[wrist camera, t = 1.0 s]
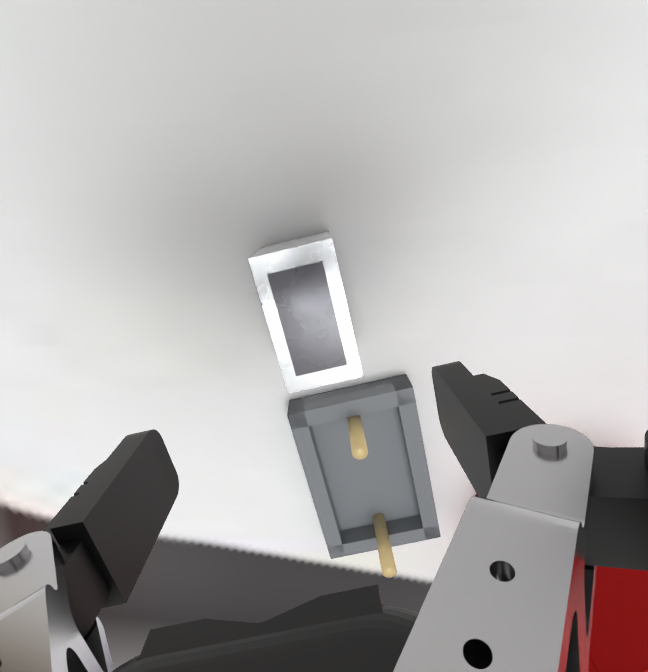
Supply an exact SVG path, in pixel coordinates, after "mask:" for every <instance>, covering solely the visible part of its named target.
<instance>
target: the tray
mask: <svg viewBox="0 0 648 672" xmlns="http://www.w3.org/2000/svg"><path fill="white" fill-rule="evenodd" d="M287 416H288V419H289V423H290V426H291V429H292V432H293V436H294V439H295V442H296V446H297V449H298V452H299V455H300V459H301V462H302V465H303V469H304V472H305V475H306V478H307V482H308V485H309V488H310V492H311V495H312V498H313V501H314V505H315V508H316V511H317V515H318V518H319V521H320V524H321V528H322V531H323V534H324V538H325V541H326V544H327V547H328V551H329V554H330V557H331V559H333V558H338V557H343V556H348V555H353V554H358V553H363V552H368V551H373V550H378V552H379V557H380V563H381V568H382V574H383V575H384V576H385V577H393V576H395V575H396V572H397V571H396V566H395V562H394V557H393V553H392V548H391V547H393V546H398V545H403V544H408V543H413V542H418V541H423V540H428V539H433V538H437V537H441V536H440V531H439V525H438V520H437V515H436V509H435V504H434V498H433V493H432V488H431V482H430V477H429V471H428V466H427V461H426V455H425V450H424V444H423V439H422V434H421V428H420V423H419V417H418V412H417V407H416V401H415V396H414V391H413V387H412V385H411V383H410V381H409V379H408V377H407V375H406V374H405V375H401V376H396V377H392V378H387V379H383V380H378V381H374V382H369V383H365V384H361V385H356V386H352V387H347V388H343V389H338V390H334V391H329V392H325V393H321V394H316V395H312V396H307V397H303V398H298V399H294V400H290V401H289V406H288V414H287Z"/></svg>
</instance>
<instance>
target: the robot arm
mask: <svg viewBox="0 0 648 672" xmlns="http://www.w3.org/2000/svg"><path fill="white" fill-rule="evenodd" d="M432 378H433V384H434V390H435V396H436V402H437V408H438V415H439V420H440V424H441V427H442V430H443V433H444V436H445V438H446V440H447V441H448V443H449V445H450V447H451V449H452V450H453V452H454V454H455V456H456V457H457V459H458V461H459V463H460V464H461V466H462V468H463V470H464V472H465V473H466V475H467V477H468V479H469V480H470V482H471V484H472V486H473V487H474V489H475V491H476V493H477V495H478V496H473V497H472V498H471V499H470V501H469V502H468V504H467V506H466V509H465V511H464V513H463V515H462V518H461V520H460V522H459V524H458V527H457V529H456V531H455V533H454V536H453V538H452V540H451V542H450V545H449V547H448V549H447V551H446V554H445V556H444V558H443V560H442V563H441V565H440V567H439V569H438V572H437V574H436V576H435V578H434V581H433V583H432V585H431V587H430V590H429V592H428V594H427V596H426V599H425V601H424V603H423V605H422V608H421V610H420V613H418V612H415V611H412V610H409V609H405V608H400V607H396V606H385V605H383V602H382V598H381V594H380V590H379V586H378V585H374V586H369V587H363V588H359V589H353V590H348V591H343V592H338V593H333V594H328V595H323V596H320V597H318V598H315V599H313V600H311V601H309V602H307V603H304V604H302V605H300V606H298V607H296V608H293V609H291V610H289V611H287V612H285V613H282V614H280V615H278V616H276V617H274V618H272V619H270V620H267V621H264V622H261V623H245V622H235V621H223V620H212V619H202V620H197V621H192V622H187V623H182V624H177V625H172V626H167V627H162V628H157V629H151V630H150V632H149V634H148V637H147V640H146V642H145V645H144V647H143V650H142V652H141V655H139V656H137V657H135V658H133V659H131V660H129V661H128V662H126V663H124V664H123V665H121V666H119V667H118V668H116V669H115V670H114V669H113V664H112V660H111V657H110V652H109V648H108V644H107V640H106V636H105V631H104V627H103V625H102V623H101V621H100V620H99V618H98V614H99V612H100V610H101V608H104V607H109V606H114V605H119V604H123V603H126V602H127V600H128V598H129V596H130V594H131V592H132V590H133V588H134V586H135V584H136V581H137V579H138V577H139V575H140V573H141V570H142V569H143V567H144V565H145V563H146V560H147V558H148V556H149V554H150V552H151V550H152V548H153V545H154V544H155V541H156V539H157V537H158V535H159V533H160V531H161V529H162V527H163V525H164V523H165V520H166V518H167V516H168V514H169V512H170V510H171V508H172V506H173V504H174V502H175V499H176V497H177V495H178V490H179V480H178V475H177V472H176V470H175V468H174V465H173V463H172V460H171V458H170V456H169V453H168V451H167V449H166V446H165V444H164V442H163V439H162V437H161V435H160V433H159V432H158V431H156V430H149V431H144V432H140V433H135V434H131V435H127V436H126V437H125V438H124V439H123V440H122V442H121V443H120V444H119V445H118V446H117V448H116V449H115V450H114V451H113V453H112V454H111V455H110V456H109V457H108V459H107V460H106V461H104V462H103V463H102V464H101V465H99V466H98V467H97V468H96V469H94V471H93V472H92V473H91V474H90V475H89V477H88V478H87V479H86V480H85V481H84V485H81V486H80V487H79V488H78V490H77V491H76V492H75V493H74V496H73V497H71V498H70V499H69V500H68V502H67V503H66V504H65V505H64V506H63V508H62V509H61V510H60V511H59V512H58V514H57V515H56V516H55V517H54V518H53V519H52V521H51V522H50V523H49V524H48V525H47V527H46V528H45V529H44V530H43V531H38V532H33V533H30V534H27V535H25V536H22V537H20V538H18V539H16V540H14V541H12V542H10V543H9V544H7V545H5V546H4V547H2V548H1V549H0V672H588V666H589V650H590V638H591V627H592V615H593V604H594V592H595V581H596V570H597V566H601V567H612V568H623V569H633V570H644V571H648V430H647V431H646V433H645V447H634V448H609V447H595V446H593V445H592V443H591V441H590V440H589V439H588V438H587V437H586V436H585V435H583V434H582V433H580V432H578V431H576V430H574V429H571V428H568V427H564V426H560V425H553V424H546V423H545V422H544V421H543V420H542V419H541V418H540V417H539V416H538V415H536V414H535V413H534V412H533V411H532V410H531V409H530V408H529V407H528V406H527V405H526V404H525V403H524V402H523V401H521V400H519V399H518V397H517V396H516V395H515V394H514V393H513V392H512V391H511V392H510V389H509V388H508V387H507V386H505V385H504V384H503V383H502V382H501V381H500V380H498V379H496V378H493V377H491V376H488V375H485V374H480V375H475V376H473V375H472V374H471V373H470V372H469V371H468V370H467V368H466V367H465V366H464V365H463V364H462V363H461V362H460V361H457V362H453V363H448V364H444V365H440V366H435V367H432Z"/></svg>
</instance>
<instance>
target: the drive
mask: <svg viewBox="0 0 648 672" xmlns="http://www.w3.org/2000/svg"><path fill="white" fill-rule="evenodd" d="M248 261H249V264H250V268H251V271H252V274H253V278H254V281H255V285H256V288H257V291H258V295H259V298H260V301H261V305H262V308H263V311H264V315H265V318H266V321H267V325H268V328H269V332H270V335H271V338H272V342H273V345H274V348H275V352H276V355H277V358H278V362H279V365H280V368H281V372H282V375H283V379H284V382H285V385H286V389H287V392H288V394H290V393H294V392H298V391H303V390H307V389H312V388H316V387H321V386H325V385H329V384H334V383H338V382H343V381H347V380H351V379H356V378H360V377H364V376H363V372H362V367H361V363H360V359H359V354H358V350H357V345H356V341H355V337H354V332H353V328H352V323H351V319H350V314H349V310H348V306H347V301H346V297H345V292H344V288H343V284H342V279H341V275H340V270H339V266H338V262H337V257H336V253H335V248H334V244H333V240H332V237H331V235H330V233H329V231H326V232H322V233H318V234H314V235H310V236H306V237H302V238H298V239H294V240H290V241H286V242H282V243H278V244H274V245H270V246H266V247H262V248H261V249H260V250H259V251H257V252H256V253H255V254H253V255H252V256H251V257H250V258H248Z"/></svg>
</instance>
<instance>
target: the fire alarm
mask: <svg viewBox="0 0 648 672" xmlns="http://www.w3.org/2000/svg"><path fill="white" fill-rule="evenodd" d="M476 496H478V495H477V494H476ZM588 672H648V571H644V570H633V569H623V568H612V567H601V566H597V570H596V581H595V592H594V604H593V615H592V627H591V638H590V650H589V666H588Z"/></svg>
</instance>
